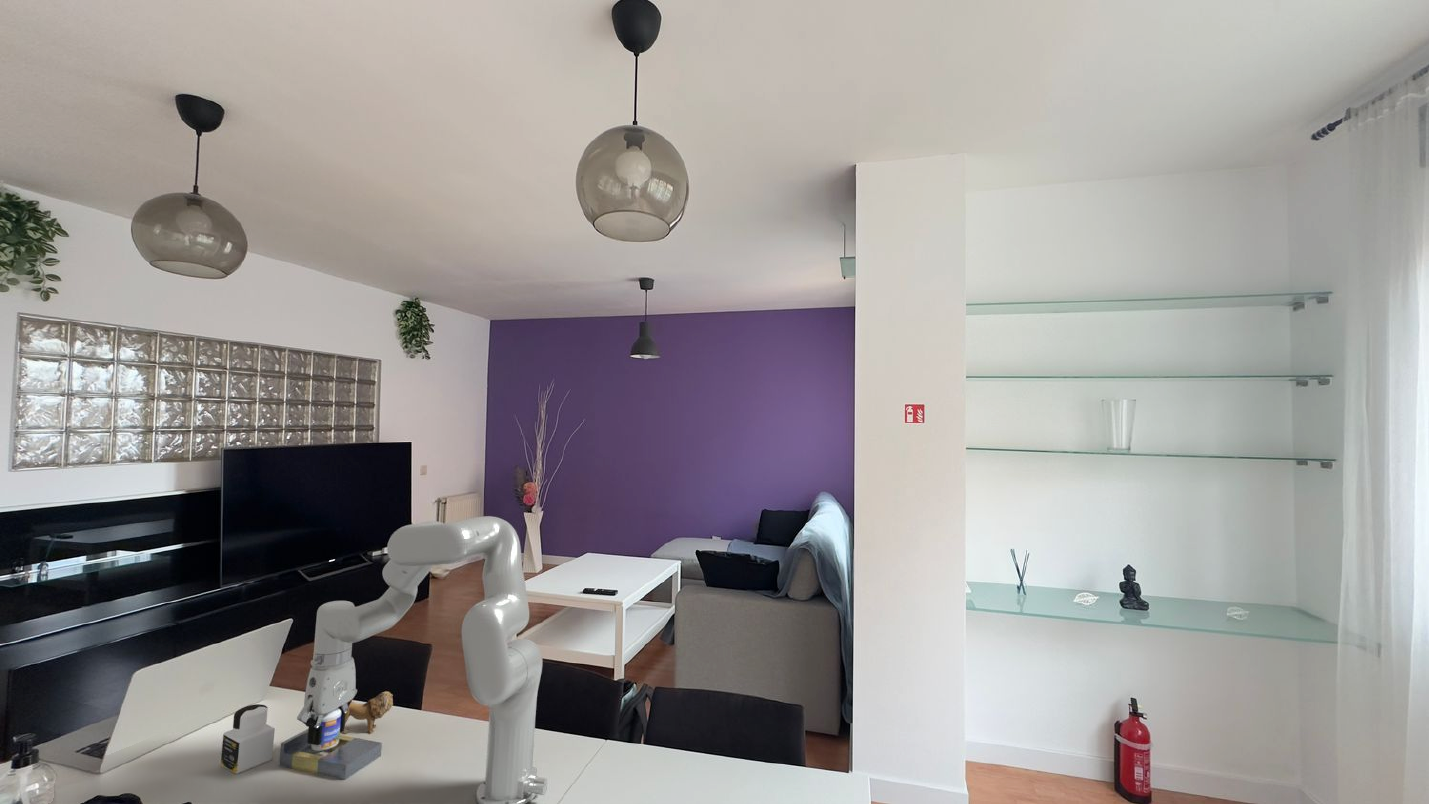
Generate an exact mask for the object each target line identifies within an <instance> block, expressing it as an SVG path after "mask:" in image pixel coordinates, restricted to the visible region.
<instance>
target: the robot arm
mask: <svg viewBox="0 0 1429 804" xmlns="http://www.w3.org/2000/svg"><path fill="white" fill-rule="evenodd" d="M517 533H518V532H517V530H516V529H515V528H514V527H513V526H512V524H511V523H509V521H507V520H504V519H503V518H500V517H498V516H491V515H488V516H487V515H485V516H477V517H471V518H470V517H469V518H467V519H462V520H458V521H453V522H447V523H443V522H441V521H435V520H430V521H423V522H418V523H412V524H407V525H404V526H401V527H400V528H398V529H396V530H395V531H394V532H393V533H392V534H391V535H390V538H389V540H388V542H387V546H386V551H387V556H388V557H389V560H388V562H387V563H386V564H385V565H384V567H383V569H382V578H383V580H384V582H385V583H386V584H387V585H388V589H386V591H385V592H384V593H383V594H382V596H380V597H379V598H378V599H376V600H373V601H370V602H367V603H363V604H360V605H358V606H355V604H354V602H351V601H347V600H333V601H328V602H325V603H323V604H322V605H320V606H319V607H318V609H317V611H316V620H315V621H316V622H315V631H314V632H315V633H314V645H313V656H312V657H313V658H312V659H311V661H310V665H311V666H312V667H311V668H310V670H309V672H308V677H307V681H306V687H305V691H304V692H305V694H304V701H303V708H302V709H301V710H300V712H299V713H298V715H297V717H296V720H298V721H300V722H301V723H302V724H304V725H305V726H306V727H307V729H308V740H307V742H308V744H313V745H319V744H321V739H322V726H320V724H321V721H322V718H323V715H324V714H326V713H328V712H330V711H332V710H334V709H336V708H339V709H340V710H341V722H340V733H343V732H342V731H344V727H345V728H346V724H345V713H347V712H348V707H349V705H350V703H351V702H353V699H354V698H355V696H356V695H357V693H358V689H357V688H356V684H357V683H356V681H357V679H356V675H357V673H356V665H355V659H354V657H353V656H352V651H353V644H354V643H358V642H360V641H363V640H365V639H368V638H370V637H372V636H374V635H377V634H379V633H382V632H385V631H387V630H389V629H391V628H392V627H393V626H395V625H397V623H398V622H399V621H401V619H402V618H403V617H404V616H405V614H406V613H407V612H408V611H409V610H410V608H411V607H412V606H413V604H414V602H415V600H416V598H417V596H418V595H417V594H418V586H419V585H420V583H422V581H423V580H424V579H425V577H426V576H427V575H428V574H429V573H430V571H432V569H433V568H434V567H435V566H436V565H437V566H439V565H449V564H450V565H451V564H455V563H456V564H457V563H460V562H464V561H466V560H470V559H474V558H477V557H479V556H484V557H485V561H484V562H483V563H484V565H483V569H482V583H483V589H484V599H483V600H481V601H479V602H477V603H476V604H474V605H473V606H472V607H471V608H470V609H469V610H468V611H467V612H466V614H465V616H464V619H463V621H462V625H461V643H462V648H463V649H462V650H463V655H464V663H465V673H466V679H467V685H468V689H469V690H470V691H469V692H470V694H471V695H472V697H473V699H474V700H475V701H476V702H478V704H480V705H482V706H485V707H489V717H488V718H489V719H488V730H487V731H488V732H487V747H486V748H487V749H486V763H485V764H486V765H485V779H484V781H483V782H481V783H480V784H479V786H477V787H478V788H477V789H476V794H475V795H476V797H475V799H476V802H477V804H528V803H529V802H530V801H532V800H533V799H534V798H535V797H536V796H537V795H539V796H545V795H546V793H547V790H548V785H547V783H548V778H545V777H539V776H538V775H537V773H538V772H537V771H538V768H537V767H534V766H533V763H534V762H533V760H534V749H535V748H534V747H535V746H534V745H535V731H536V730H535V729H536V715H537V714H536V713H537V712H536V711H537V701H538V700H537V699H538V698H537V697H538V691H539V686H540V682H541V675H542V673H543V655H542V651H541V649H540V647H539V645H537V643H536V642H534V641H532V640H531V639H527V638H517V639H514V640H511V641H509V642H508V640H509V639H511V638H512V637H514V636H516V635H517V634H519V633H521V632H522V631H523V630H524V629H525V628H526V626H527V625H528V623H529V621H530V608H529V600H528V594H527V588H526V580H525V575H524V569H523V562H522V549H521V548H522V547H521V542H520V538H519V535H518V534H517ZM315 715H317V718H316V720H314V717H315Z"/></svg>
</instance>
